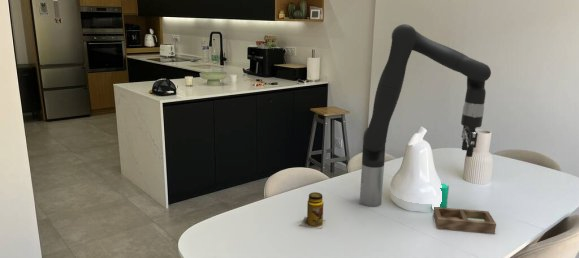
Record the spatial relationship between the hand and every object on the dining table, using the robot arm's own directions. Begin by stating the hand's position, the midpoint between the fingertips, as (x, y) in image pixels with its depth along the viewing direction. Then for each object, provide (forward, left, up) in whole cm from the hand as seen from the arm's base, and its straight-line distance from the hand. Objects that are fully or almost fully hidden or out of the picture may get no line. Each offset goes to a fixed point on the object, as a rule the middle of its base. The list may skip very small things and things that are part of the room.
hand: (466, 153), depth 177 cm
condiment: (-58, -24, -25) cm, 68 cm away
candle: (-8, -1, -25) cm, 26 cm away
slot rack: (-1, -14, -25) cm, 28 cm away
